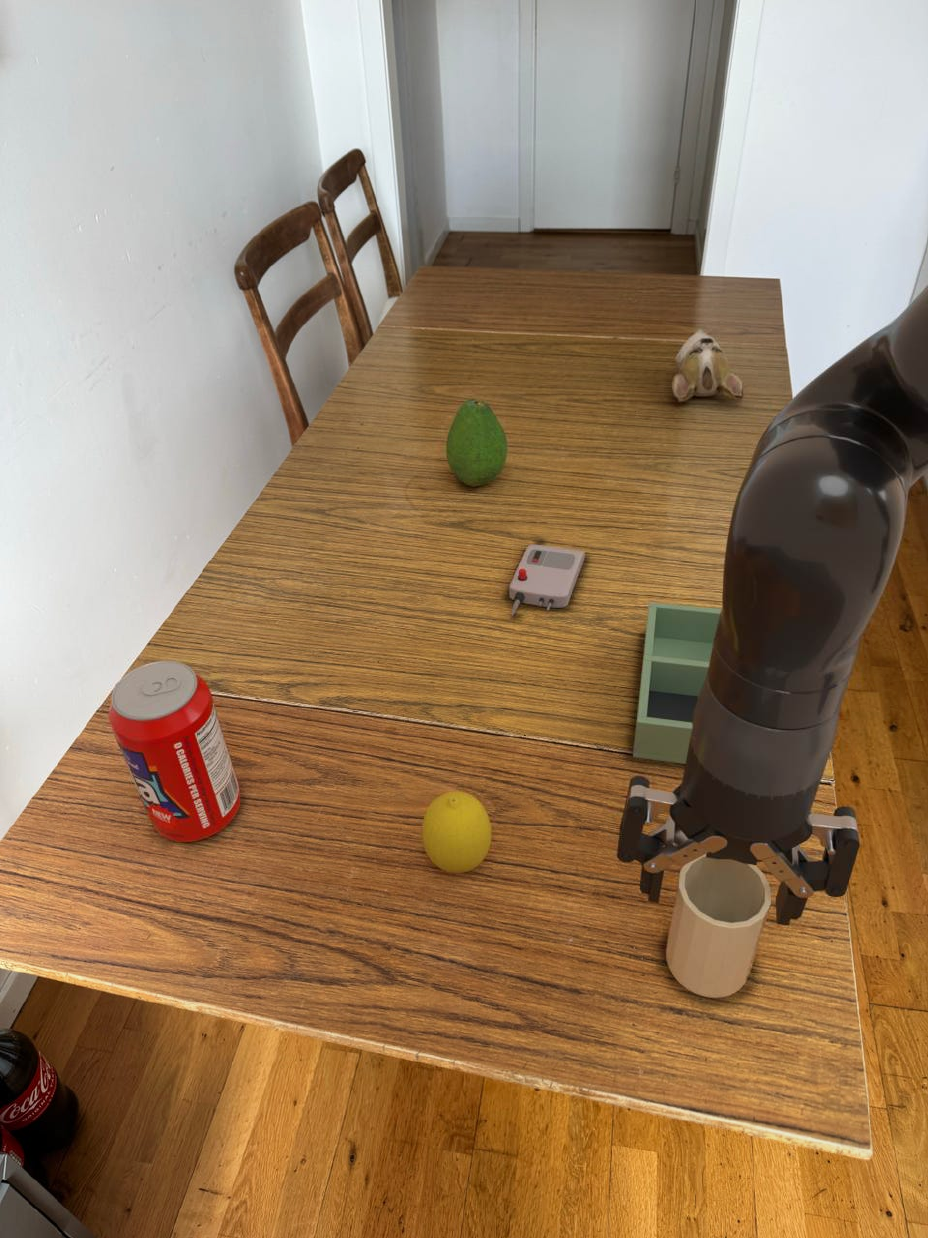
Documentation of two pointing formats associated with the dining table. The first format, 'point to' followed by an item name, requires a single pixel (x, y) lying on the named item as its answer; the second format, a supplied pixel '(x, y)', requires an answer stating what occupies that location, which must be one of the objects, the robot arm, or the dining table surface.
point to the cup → (716, 925)
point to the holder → (672, 678)
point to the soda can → (175, 750)
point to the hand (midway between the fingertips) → (717, 902)
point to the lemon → (456, 832)
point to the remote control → (545, 576)
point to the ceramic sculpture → (704, 371)
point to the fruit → (476, 444)
